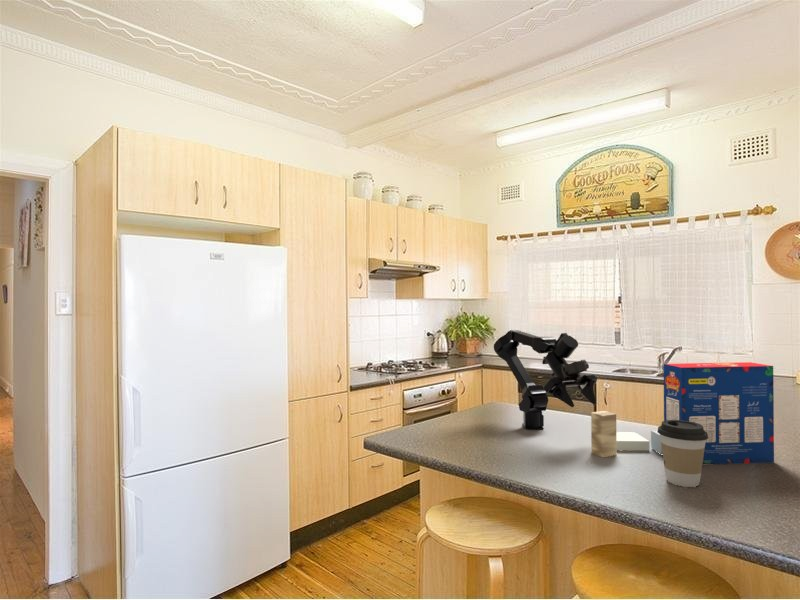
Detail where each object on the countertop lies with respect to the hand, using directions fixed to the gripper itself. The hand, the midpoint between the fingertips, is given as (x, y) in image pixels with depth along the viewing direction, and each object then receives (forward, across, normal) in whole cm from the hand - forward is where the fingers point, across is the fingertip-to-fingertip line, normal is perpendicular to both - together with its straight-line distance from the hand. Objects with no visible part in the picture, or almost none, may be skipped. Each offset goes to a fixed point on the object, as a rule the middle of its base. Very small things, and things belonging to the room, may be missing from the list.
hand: (584, 405), depth 150 cm
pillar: (+15, 0, +4) cm, 16 cm away
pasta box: (+27, +27, -8) cm, 39 cm away
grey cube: (+20, +19, -1) cm, 27 cm away
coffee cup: (+33, +1, -13) cm, 35 cm away
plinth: (+13, +13, +6) cm, 19 cm away
